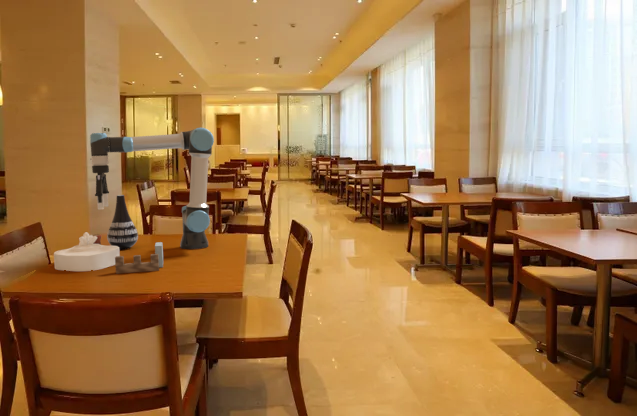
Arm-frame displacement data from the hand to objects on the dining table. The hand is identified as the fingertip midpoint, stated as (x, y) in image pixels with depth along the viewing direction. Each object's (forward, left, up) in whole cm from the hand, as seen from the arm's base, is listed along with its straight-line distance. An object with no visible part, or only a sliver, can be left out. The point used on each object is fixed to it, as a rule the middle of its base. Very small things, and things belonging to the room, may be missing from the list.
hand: (103, 208), depth 260 cm
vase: (-5, -27, -26) cm, 38 cm away
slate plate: (-26, +25, -26) cm, 44 cm away
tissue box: (+7, +12, -26) cm, 29 cm away
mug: (+9, -12, -26) cm, 30 cm away
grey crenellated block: (-17, +35, -26) cm, 46 cm away
